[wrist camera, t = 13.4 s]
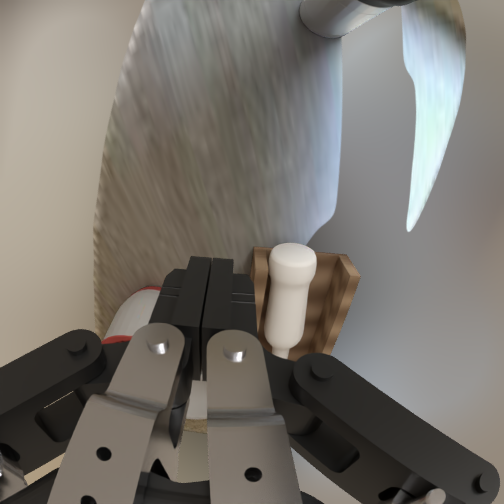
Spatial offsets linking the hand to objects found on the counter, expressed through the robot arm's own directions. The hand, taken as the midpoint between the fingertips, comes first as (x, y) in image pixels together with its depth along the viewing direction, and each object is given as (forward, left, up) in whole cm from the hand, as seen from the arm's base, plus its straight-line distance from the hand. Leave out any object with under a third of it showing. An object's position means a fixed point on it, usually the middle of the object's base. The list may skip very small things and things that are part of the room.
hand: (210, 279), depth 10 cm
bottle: (+15, +11, -32) cm, 37 cm away
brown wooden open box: (+33, +14, -37) cm, 52 cm away
